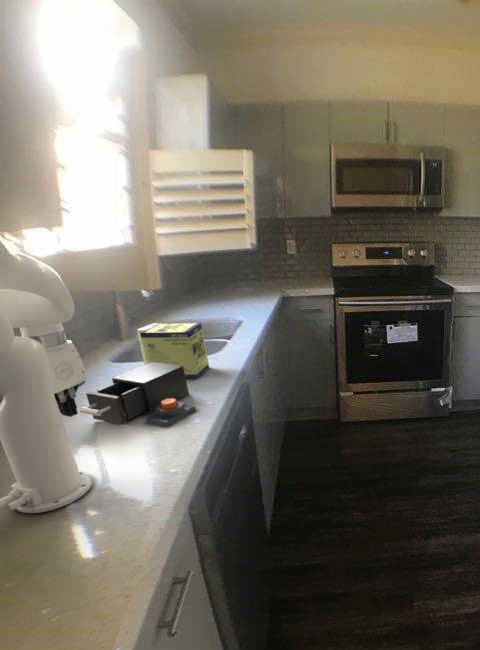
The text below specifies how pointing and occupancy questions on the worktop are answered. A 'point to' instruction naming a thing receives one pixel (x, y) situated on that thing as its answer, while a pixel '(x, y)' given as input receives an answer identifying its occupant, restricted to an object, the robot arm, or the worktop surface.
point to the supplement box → (141, 339)
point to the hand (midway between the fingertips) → (70, 414)
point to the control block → (170, 414)
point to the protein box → (177, 347)
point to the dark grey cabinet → (157, 382)
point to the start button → (169, 403)
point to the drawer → (116, 402)
